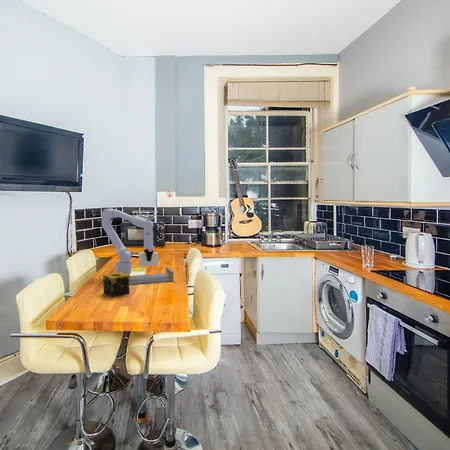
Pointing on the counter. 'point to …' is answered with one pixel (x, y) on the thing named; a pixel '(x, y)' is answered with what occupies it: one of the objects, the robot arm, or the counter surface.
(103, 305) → the counter surface
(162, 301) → the counter surface
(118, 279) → the black and yellow cube
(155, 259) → the door panel
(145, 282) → the cabinet base
